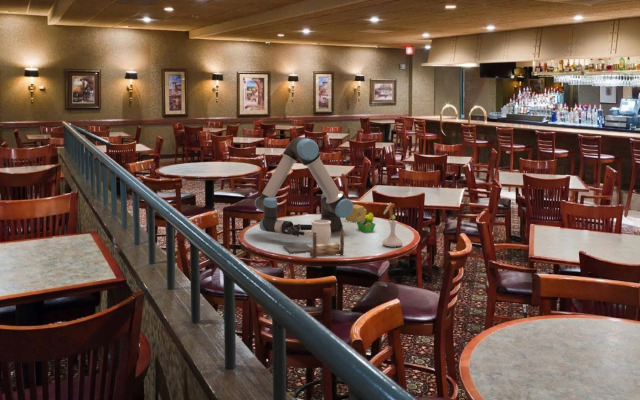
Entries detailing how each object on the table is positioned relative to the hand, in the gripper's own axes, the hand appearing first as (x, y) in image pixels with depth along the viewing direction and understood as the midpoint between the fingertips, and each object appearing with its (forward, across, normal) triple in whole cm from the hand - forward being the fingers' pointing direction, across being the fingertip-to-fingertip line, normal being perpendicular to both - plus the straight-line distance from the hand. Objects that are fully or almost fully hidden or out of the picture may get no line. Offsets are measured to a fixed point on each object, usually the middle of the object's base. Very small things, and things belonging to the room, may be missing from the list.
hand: (316, 231), depth 350 cm
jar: (+2, -1, -9) cm, 10 cm away
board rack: (+12, +10, -9) cm, 18 cm away
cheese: (-17, -76, -9) cm, 79 cm away
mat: (-6, +9, -9) cm, 14 cm away
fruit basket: (+3, -53, -9) cm, 54 cm away
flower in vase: (+33, -26, -9) cm, 43 cm away
